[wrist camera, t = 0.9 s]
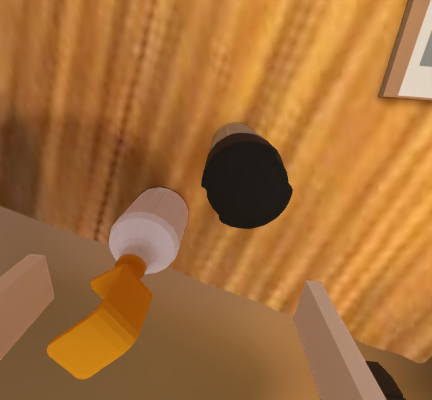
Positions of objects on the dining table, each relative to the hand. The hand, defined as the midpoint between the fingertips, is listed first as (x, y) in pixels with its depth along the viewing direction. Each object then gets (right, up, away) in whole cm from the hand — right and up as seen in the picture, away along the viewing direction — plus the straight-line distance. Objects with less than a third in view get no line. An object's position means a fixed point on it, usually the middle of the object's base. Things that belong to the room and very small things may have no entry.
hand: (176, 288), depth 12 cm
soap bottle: (-7, +3, +27) cm, 28 cm away
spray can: (+5, +13, +23) cm, 27 cm away
